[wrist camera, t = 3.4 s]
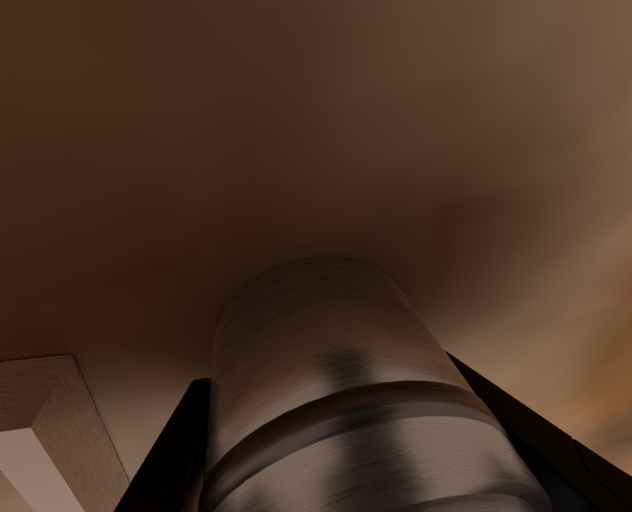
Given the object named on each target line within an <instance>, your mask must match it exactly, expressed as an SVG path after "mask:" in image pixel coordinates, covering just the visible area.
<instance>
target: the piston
mask: <svg viewBox="0 0 632 512" xmlns="http://www.w3.org/2000/svg"><path fill="white" fill-rule="evenodd" d="M197 512H552V503H551V500H550V497H549V496H548V494H547V493H546V492H545V490H544V489H543V487H542V486H541V485H540V483H539V482H538V480H537V479H536V478H535V476H534V475H533V473H532V472H531V471H530V469H529V468H528V466H527V465H526V464H525V462H524V461H523V460H522V458H521V457H520V455H519V454H518V453H517V451H516V450H515V448H514V445H513V442H512V440H511V438H510V436H509V435H508V434H507V432H506V431H505V430H504V428H503V427H502V425H501V424H500V423H499V421H498V420H497V419H496V417H495V416H494V414H493V413H492V412H491V410H490V409H489V408H488V406H487V405H486V404H485V403H484V402H483V401H482V399H480V398H479V397H477V395H476V394H475V393H474V391H473V390H472V388H471V387H470V386H469V384H468V383H467V381H466V380H465V379H464V377H463V376H462V375H461V373H460V372H459V370H458V369H457V368H456V366H455V365H454V363H453V362H452V361H451V359H450V358H449V356H448V355H447V354H446V352H445V351H444V349H443V348H442V347H441V345H440V344H439V342H438V341H437V340H436V338H435V337H434V336H433V334H432V333H431V331H430V330H429V329H428V327H427V326H426V324H425V323H424V322H423V320H422V319H421V317H420V316H419V315H418V313H417V312H416V310H415V309H414V308H413V306H412V305H411V303H410V302H409V301H408V299H407V298H406V296H405V295H404V294H403V292H402V291H401V290H400V288H399V287H398V286H397V284H396V283H395V282H394V281H393V279H391V278H390V277H389V276H388V275H387V274H386V273H385V272H383V271H381V270H380V269H378V268H376V267H375V266H372V265H370V264H368V263H365V262H362V261H359V260H355V259H351V258H343V257H316V258H308V259H303V260H299V261H294V262H291V263H288V264H285V265H282V266H279V267H277V268H275V269H273V270H271V271H269V272H267V273H265V274H263V275H262V276H260V277H258V278H257V279H255V280H253V281H252V282H251V283H250V284H248V285H247V286H246V287H245V288H243V289H242V290H241V291H240V292H239V293H238V294H237V295H236V296H235V297H234V298H233V299H232V301H231V302H230V303H229V305H228V306H227V307H226V309H225V310H224V312H223V314H222V316H221V318H220V320H219V322H218V325H217V328H216V332H215V338H214V347H213V360H212V373H211V385H210V398H209V410H208V423H207V435H206V448H205V460H204V473H203V486H202V489H201V491H200V496H199V501H198V511H197Z"/></svg>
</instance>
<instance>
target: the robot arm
mask: <svg viewBox="0 0 632 512" xmlns="http://www.w3.org/2000/svg"><path fill="white" fill-rule="evenodd" d="M444 351H445V350H444ZM445 352H446V351H445ZM446 354H447V355H448V356H449V358H450V359H451V361H452V362H453V363H454V365H455V366H456V368H457V369H458V370H459V372H460V373H461V375H462V376H463V377H464V379H465V380H466V381H467V383H468V384H469V386H470V387H471V388H472V390H473V391H474V393H475V394H476V395H477V397H479V398H480V399H482V401H483V402H484V403H485V404H486V405H487V406H488V408H489V409H490V410H491V412H492V413H493V414H494V416H495V417H496V419H497V420H498V421H499V423H500V424H501V425H502V427H503V428H504V430H505V431H506V432H507V434H508V435H509V436H510V438H511V440H512V442H513V445H514V448H515V450H516V451H517V453H518V454H519V455H520V457H521V458H522V460H523V461H524V462H525V464H526V465H527V466H528V468H529V469H530V471H531V472H532V473H533V475H534V476H535V478H536V479H537V480H538V482H539V483H540V485H541V486H542V487H543V489H544V490H545V492H546V493H547V494H548V496H549V497H550V500H551V503H552V512H632V476H630V475H629V474H627V473H625V472H624V471H622V470H621V469H619V468H617V467H616V466H614V465H613V464H611V463H610V462H608V461H607V460H605V459H604V458H602V457H601V456H599V455H598V454H596V453H595V452H593V451H592V450H590V449H589V448H587V447H586V446H584V445H583V444H581V443H580V442H578V441H577V440H575V439H572V437H571V436H569V435H568V434H567V433H565V432H564V431H562V430H561V429H559V428H558V427H556V426H555V425H553V424H552V423H550V422H549V421H548V420H546V419H545V418H543V417H542V416H540V415H539V414H537V413H536V412H534V411H533V410H531V409H530V408H528V407H527V406H526V405H524V404H523V403H521V402H520V401H518V400H517V399H515V398H514V397H512V396H511V395H509V394H508V393H507V392H505V391H504V390H502V389H501V388H499V387H498V386H496V385H495V384H493V383H492V382H490V381H489V380H487V379H486V378H485V377H483V376H482V375H480V374H479V373H477V372H476V371H474V370H473V369H471V368H470V367H468V366H467V365H466V364H464V363H463V362H461V361H460V360H458V359H457V358H455V357H454V356H452V355H451V354H449V353H448V352H446ZM210 385H211V380H210V379H209V378H202V379H195V380H193V381H192V383H191V384H190V386H189V387H188V389H187V391H186V392H185V394H184V396H183V397H182V399H181V401H180V402H179V404H178V406H177V407H176V409H175V410H174V412H173V414H172V415H171V417H170V419H169V420H168V422H167V424H166V425H165V427H164V429H163V430H162V432H161V434H160V435H159V437H158V438H157V440H156V442H155V443H154V445H153V447H152V448H151V450H150V452H149V453H148V455H147V457H146V458H145V460H144V462H143V463H142V465H141V466H140V468H139V470H138V471H137V473H136V475H135V476H134V478H133V480H132V481H131V483H130V485H129V486H128V488H127V490H126V491H125V493H124V494H123V496H122V498H121V499H120V501H119V503H118V504H117V506H116V508H115V509H114V511H113V512H197V511H198V501H199V496H200V491H201V489H202V486H203V473H204V460H205V448H206V435H207V423H208V410H209V398H210Z"/></svg>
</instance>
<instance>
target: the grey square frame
mask: <svg viewBox="0 0 632 512" xmlns="http://www.w3.org/2000/svg"><path fill="white" fill-rule="evenodd" d="M0 470H1V471H2V473H3V474H4V475H5V476H6V477H7V479H8V480H9V481H10V482H11V484H12V485H13V486H14V487H15V489H16V490H17V491H18V492H19V494H20V495H21V496H22V497H23V498H24V500H25V501H26V502H27V503H28V505H29V506H30V507H31V508H32V510H33V511H34V512H113V511H114V509H115V508H116V506H117V504H118V503H119V501H120V499H121V498H122V496H123V494H124V493H125V491H126V490H127V488H128V486H129V485H130V483H129V480H128V478H127V476H126V474H125V472H124V469H123V467H122V465H121V463H120V460H119V458H118V456H117V454H116V452H115V449H114V447H113V445H112V443H111V440H110V438H109V436H108V434H107V432H106V429H105V427H104V425H103V423H102V420H101V418H100V416H99V414H98V412H97V409H96V407H95V405H94V403H93V400H92V398H91V396H90V394H89V392H88V389H87V387H86V385H85V383H84V380H83V378H82V376H81V374H80V372H79V369H78V367H77V365H76V363H75V360H74V358H73V356H72V354H70V355H61V356H51V357H41V358H32V359H22V360H12V361H2V362H0Z"/></svg>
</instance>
